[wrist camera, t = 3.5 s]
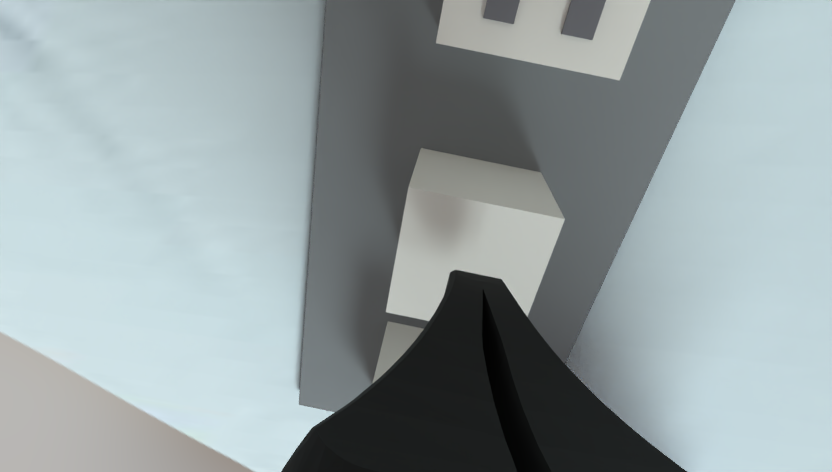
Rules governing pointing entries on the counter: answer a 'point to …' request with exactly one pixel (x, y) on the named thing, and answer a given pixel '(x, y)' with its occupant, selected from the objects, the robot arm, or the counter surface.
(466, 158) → the plain block
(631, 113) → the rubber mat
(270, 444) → the counter surface
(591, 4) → the two bar block
